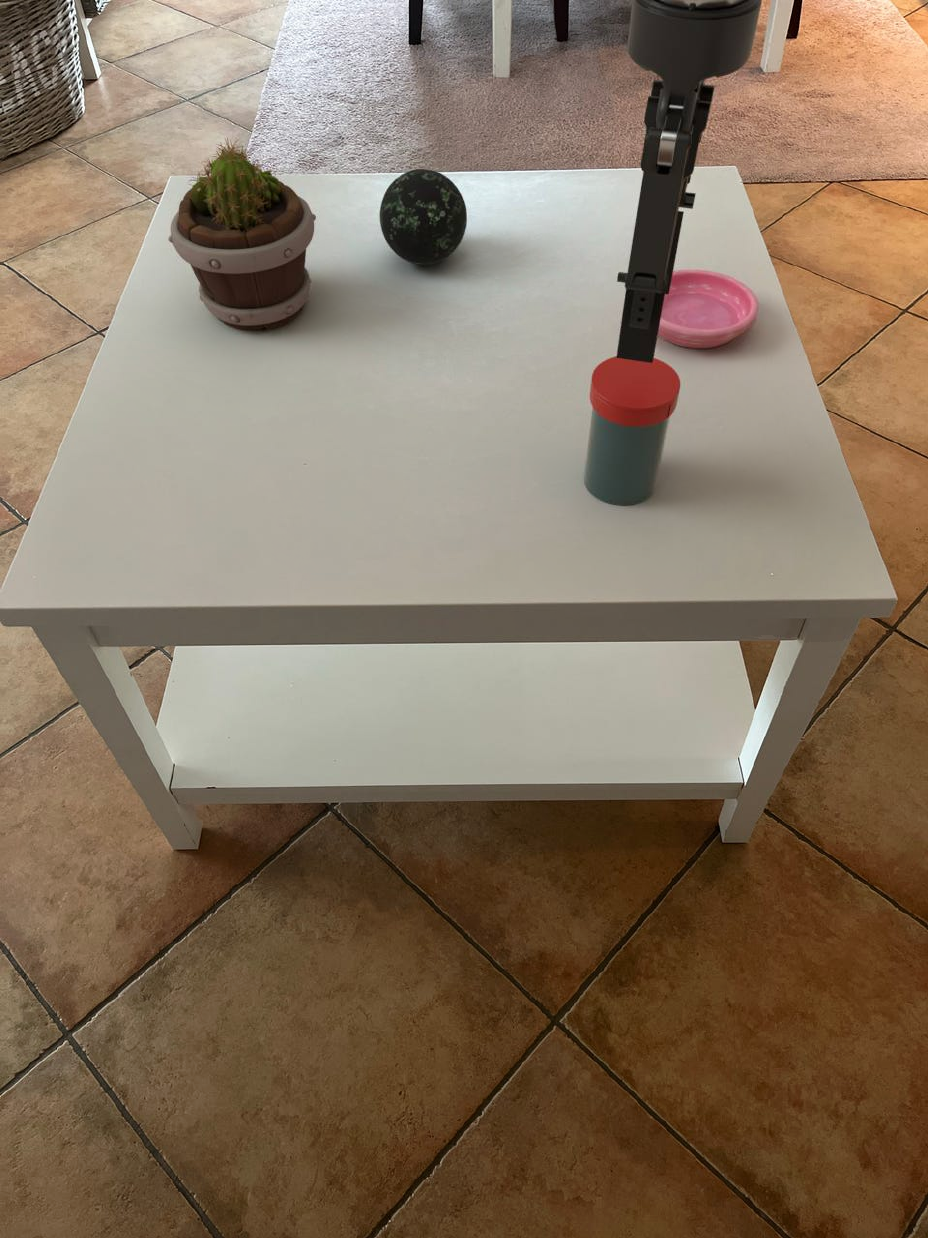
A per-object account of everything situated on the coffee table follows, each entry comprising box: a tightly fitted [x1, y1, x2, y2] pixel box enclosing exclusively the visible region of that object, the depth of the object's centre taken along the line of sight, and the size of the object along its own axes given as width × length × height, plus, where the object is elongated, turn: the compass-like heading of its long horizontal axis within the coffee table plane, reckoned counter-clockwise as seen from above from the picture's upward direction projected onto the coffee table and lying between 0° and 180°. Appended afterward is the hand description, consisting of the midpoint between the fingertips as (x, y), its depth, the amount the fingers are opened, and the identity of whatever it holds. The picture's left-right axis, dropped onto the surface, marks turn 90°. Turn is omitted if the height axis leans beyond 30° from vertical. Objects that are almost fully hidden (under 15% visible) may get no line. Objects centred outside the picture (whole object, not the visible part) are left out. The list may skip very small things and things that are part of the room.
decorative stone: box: [379, 168, 468, 266], centre depth 105 cm, size 10×10×10 cm
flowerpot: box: [168, 137, 317, 331], centre depth 95 cm, size 14×15×20 cm
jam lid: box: [589, 355, 681, 427], centre depth 76 cm, size 7×7×2 cm
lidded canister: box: [583, 406, 671, 506], centre depth 80 cm, size 7×7×11 cm
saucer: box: [658, 269, 759, 349], centre depth 98 cm, size 12×12×3 cm
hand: (644, 321), depth 71 cm, fingers open, 9 cm apart
